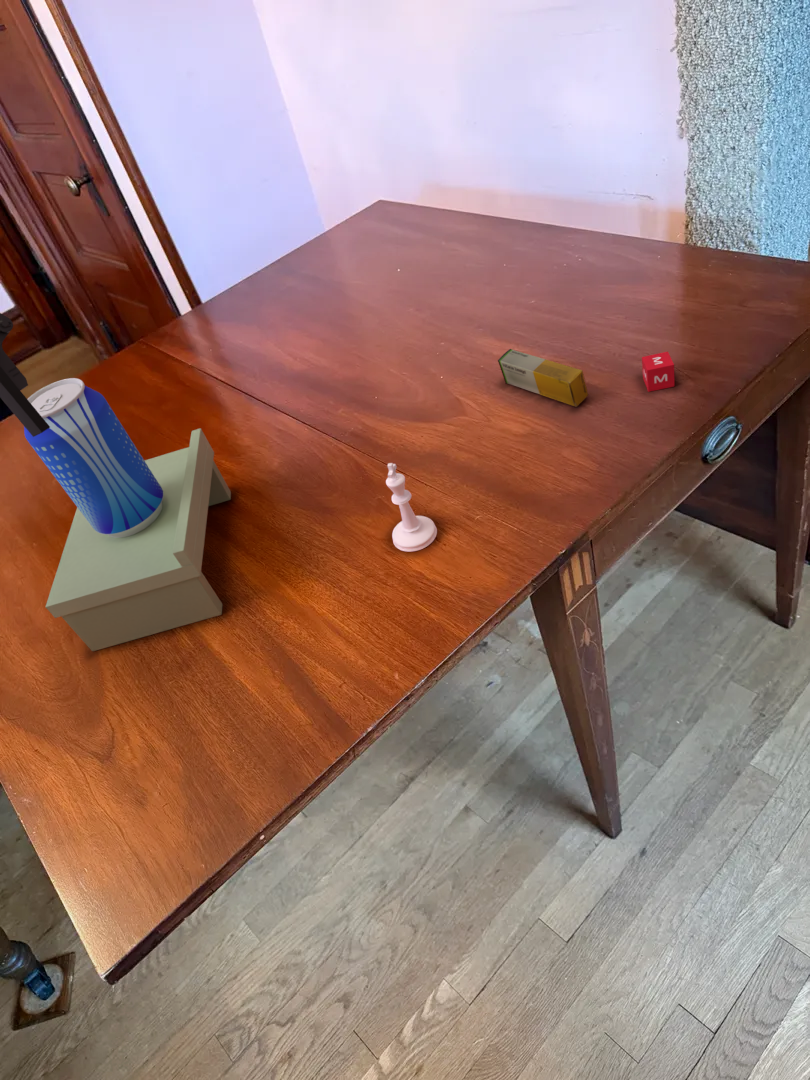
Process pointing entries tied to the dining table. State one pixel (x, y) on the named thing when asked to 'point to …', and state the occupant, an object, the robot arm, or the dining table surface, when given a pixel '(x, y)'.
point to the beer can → (95, 459)
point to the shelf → (144, 559)
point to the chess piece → (408, 517)
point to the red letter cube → (658, 371)
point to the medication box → (544, 377)
